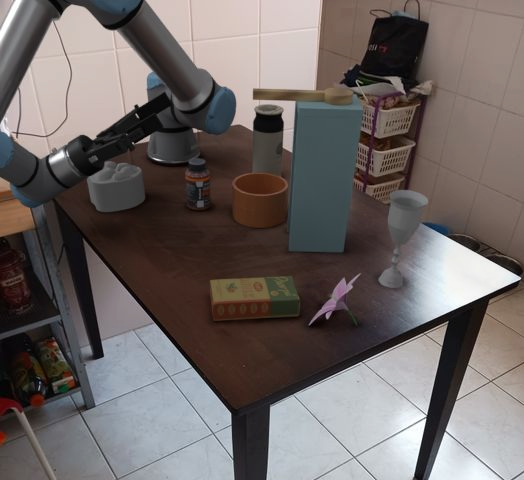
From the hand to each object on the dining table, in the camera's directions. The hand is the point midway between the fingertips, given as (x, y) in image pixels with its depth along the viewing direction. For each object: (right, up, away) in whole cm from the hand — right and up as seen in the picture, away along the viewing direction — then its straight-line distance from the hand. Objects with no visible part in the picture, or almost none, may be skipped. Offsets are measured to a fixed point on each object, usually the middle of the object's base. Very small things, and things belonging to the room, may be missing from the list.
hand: (164, 108), depth 104 cm
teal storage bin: (+31, -22, +19) cm, 42 cm away
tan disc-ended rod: (+27, +1, -1) cm, 27 cm away
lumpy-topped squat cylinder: (-17, -9, +31) cm, 37 cm away
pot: (+18, -14, +28) cm, 36 cm away
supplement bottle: (+3, -11, +30) cm, 32 cm away
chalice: (+45, -32, +7) cm, 56 cm away
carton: (+17, -38, -1) cm, 42 cm away
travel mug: (+20, +1, +45) cm, 49 cm away
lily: (+32, -41, -4) cm, 52 cm away
